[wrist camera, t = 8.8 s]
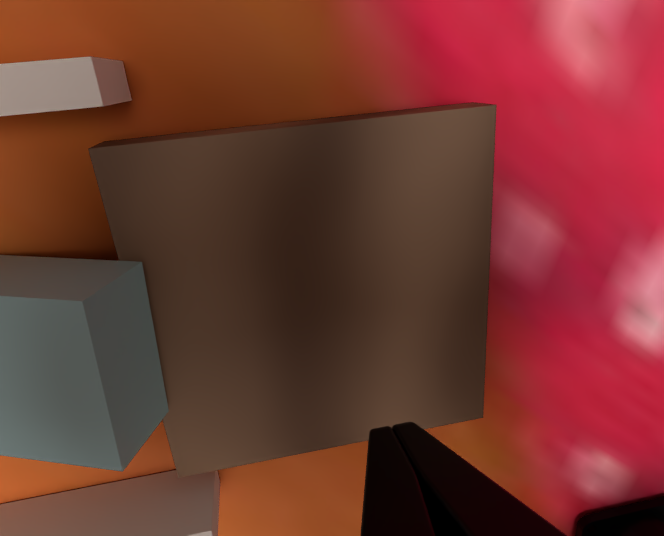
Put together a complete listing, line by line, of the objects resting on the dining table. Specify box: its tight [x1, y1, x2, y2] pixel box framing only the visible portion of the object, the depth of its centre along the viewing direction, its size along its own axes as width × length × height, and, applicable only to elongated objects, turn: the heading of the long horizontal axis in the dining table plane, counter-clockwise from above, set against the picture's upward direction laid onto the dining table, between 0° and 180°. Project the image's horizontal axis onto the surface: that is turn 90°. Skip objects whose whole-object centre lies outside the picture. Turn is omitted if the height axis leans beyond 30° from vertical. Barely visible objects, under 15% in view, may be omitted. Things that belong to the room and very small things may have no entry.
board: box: [88, 102, 496, 478], centre depth 16 cm, size 11×11×2 cm
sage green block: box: [0, 255, 169, 471], centre depth 13 cm, size 5×5×2 cm
